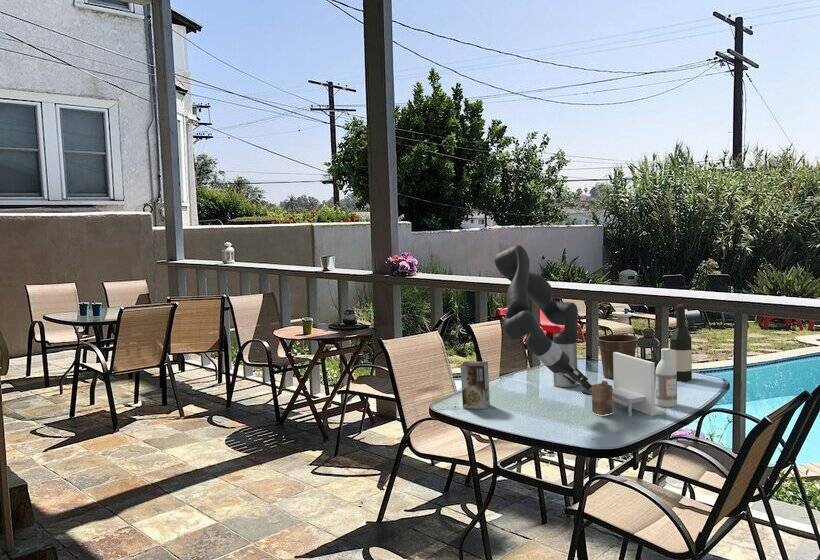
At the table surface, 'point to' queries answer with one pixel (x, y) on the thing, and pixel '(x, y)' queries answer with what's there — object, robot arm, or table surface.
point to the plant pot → (615, 350)
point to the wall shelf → (634, 384)
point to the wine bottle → (681, 347)
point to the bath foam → (666, 381)
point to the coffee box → (475, 385)
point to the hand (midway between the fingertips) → (582, 385)
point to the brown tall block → (602, 398)
